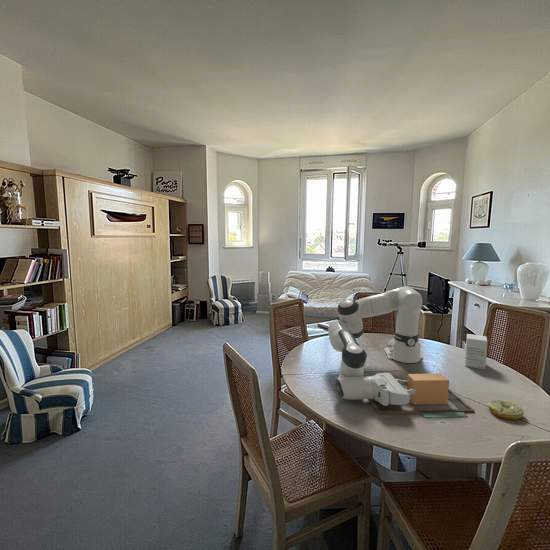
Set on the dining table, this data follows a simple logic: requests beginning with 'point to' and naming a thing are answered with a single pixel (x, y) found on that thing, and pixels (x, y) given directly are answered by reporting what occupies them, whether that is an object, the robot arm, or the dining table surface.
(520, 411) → the decorated donut
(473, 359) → the supplement box
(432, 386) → the orange block
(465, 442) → the dining table surface
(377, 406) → the trap lane
